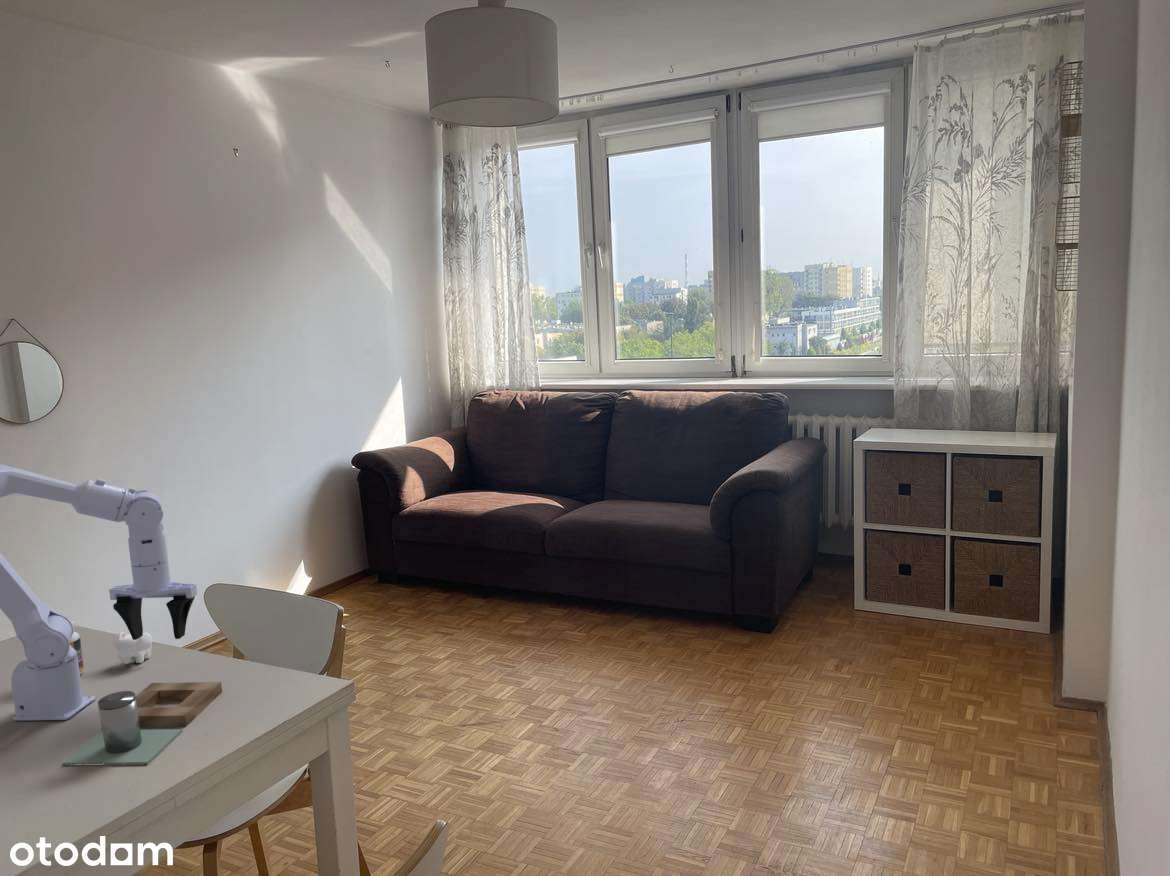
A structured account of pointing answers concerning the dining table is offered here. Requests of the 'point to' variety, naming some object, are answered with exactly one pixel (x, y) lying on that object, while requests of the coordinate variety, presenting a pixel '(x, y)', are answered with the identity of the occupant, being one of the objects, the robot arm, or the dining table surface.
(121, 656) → the elephant figurine
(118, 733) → the metal cylinder
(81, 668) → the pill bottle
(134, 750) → the mat
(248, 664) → the dining table surface
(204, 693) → the collar
